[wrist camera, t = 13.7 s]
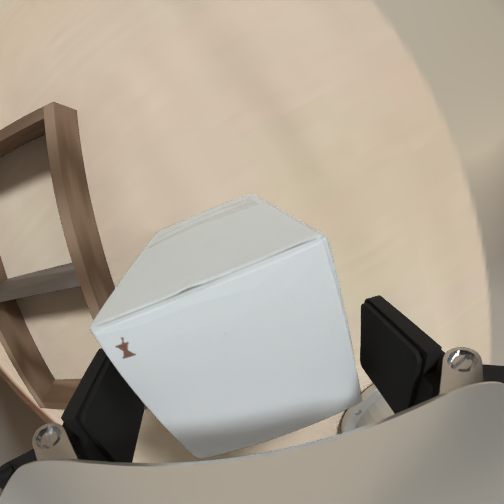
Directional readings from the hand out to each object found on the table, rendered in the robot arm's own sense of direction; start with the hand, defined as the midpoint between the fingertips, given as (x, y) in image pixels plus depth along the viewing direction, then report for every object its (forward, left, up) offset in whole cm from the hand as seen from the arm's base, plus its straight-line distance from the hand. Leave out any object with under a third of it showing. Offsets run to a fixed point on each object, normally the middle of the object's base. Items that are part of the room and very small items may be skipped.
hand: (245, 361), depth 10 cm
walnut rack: (+2, +14, -11) cm, 18 cm away
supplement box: (0, 0, -11) cm, 11 cm away
